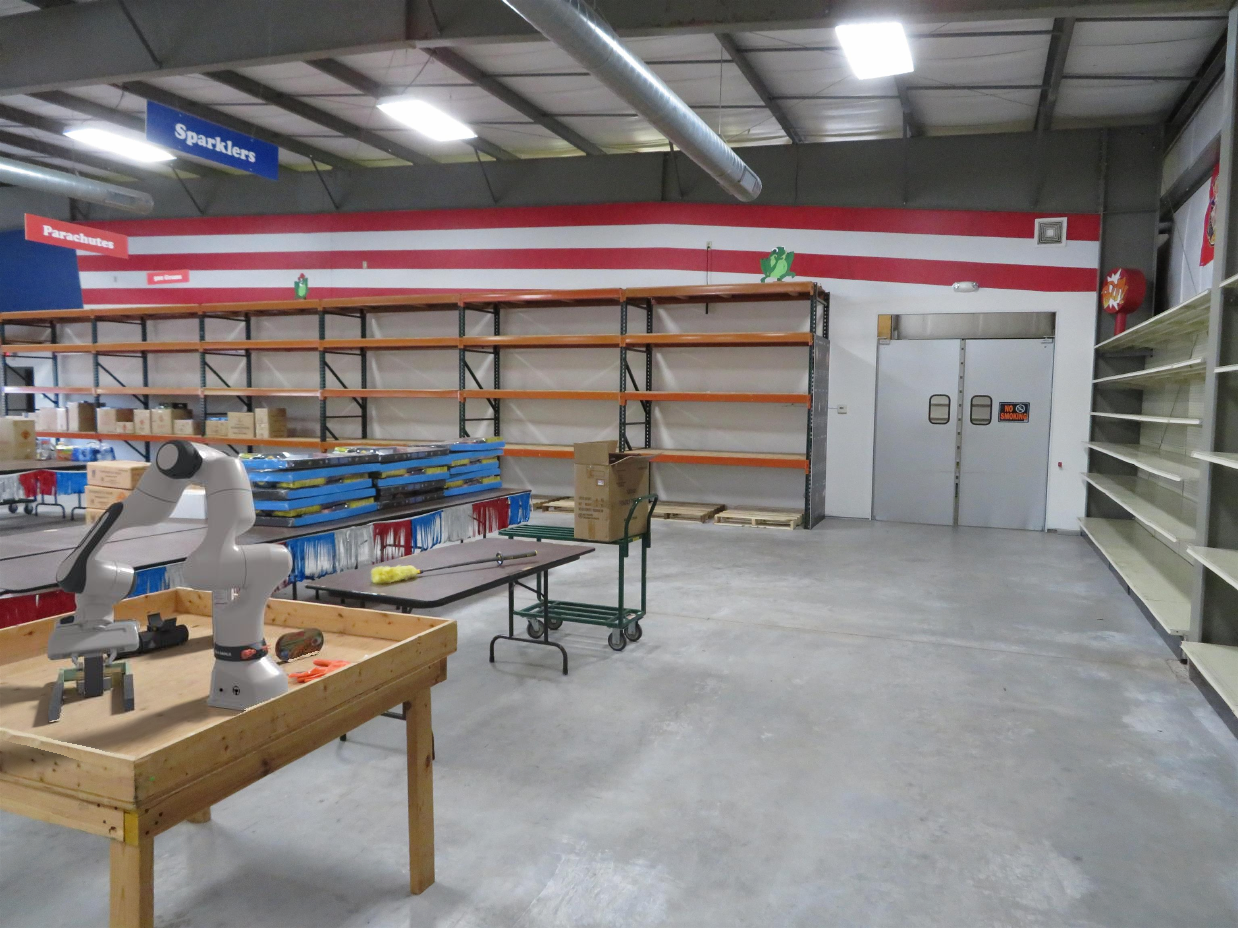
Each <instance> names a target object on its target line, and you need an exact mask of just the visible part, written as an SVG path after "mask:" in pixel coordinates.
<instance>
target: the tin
mask: <svg viewBox="0 0 1238 928" xmlns="http://www.w3.org/2000/svg"><path fill="white" fill-rule="evenodd" d="M324 641H325V637H324V634H323V632H322V631H321V630H320V629H318V628H315V627H306V628H303V629H302V628H301V629H299V630H294V631H290V632H287V633H283V634H282V635H281V636H280V637H279V638H278V639H277V640H276V642H275V644H274V645H275V647H274V652H275V656H276V657H277V659H278V660H280V661H283V662H285V661H288V660H289V659H294V658H297V657H300V656H302V655H306V654H308V653H312V652H315V651H319V652H320V651H321V650H322V649H323V646H324Z"/></svg>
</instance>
